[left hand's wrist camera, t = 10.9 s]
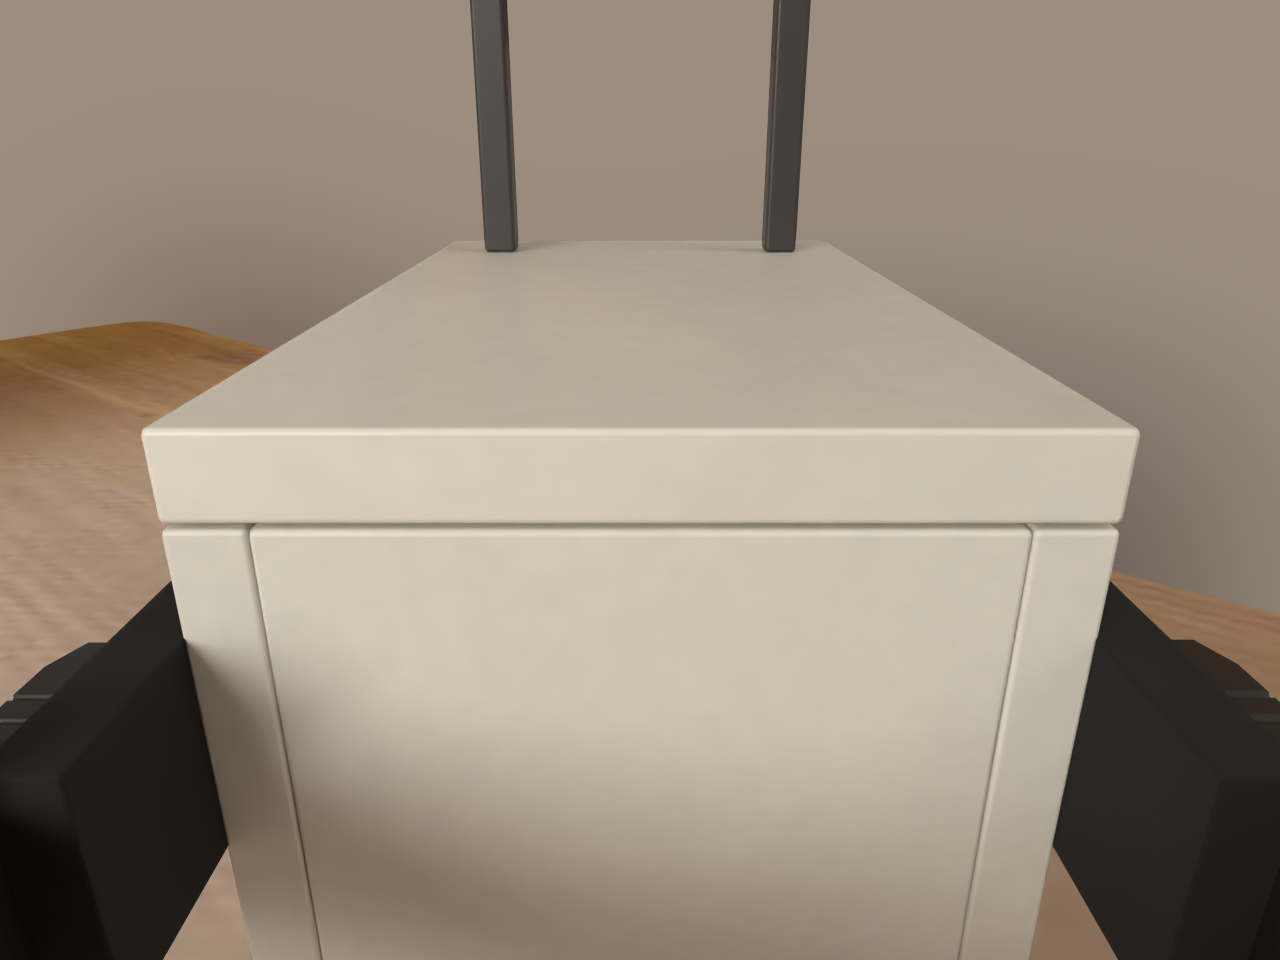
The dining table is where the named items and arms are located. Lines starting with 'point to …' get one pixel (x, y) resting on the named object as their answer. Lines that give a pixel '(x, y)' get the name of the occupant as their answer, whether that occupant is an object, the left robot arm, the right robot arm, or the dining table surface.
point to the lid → (640, 381)
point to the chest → (640, 733)
